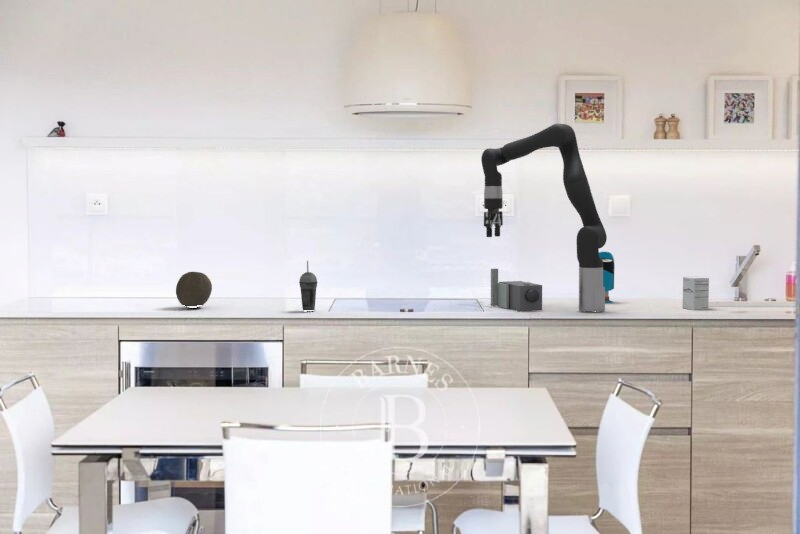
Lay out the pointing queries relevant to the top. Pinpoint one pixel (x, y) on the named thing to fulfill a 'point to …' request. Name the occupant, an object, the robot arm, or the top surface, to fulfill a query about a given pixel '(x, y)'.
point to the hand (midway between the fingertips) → (493, 236)
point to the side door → (499, 291)
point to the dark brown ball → (193, 289)
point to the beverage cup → (308, 290)
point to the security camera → (607, 273)
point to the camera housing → (524, 296)
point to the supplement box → (695, 293)
